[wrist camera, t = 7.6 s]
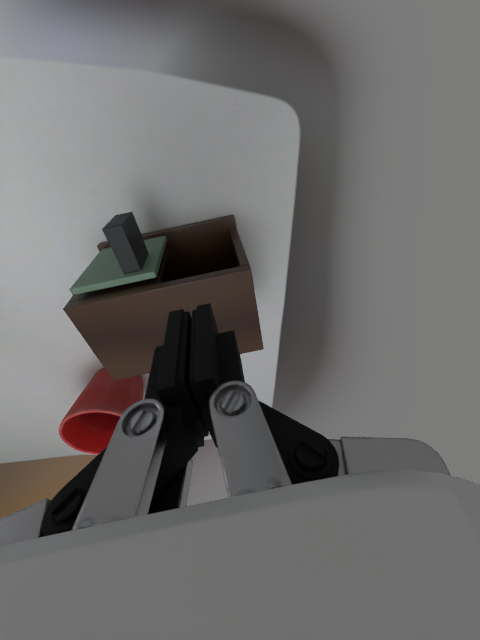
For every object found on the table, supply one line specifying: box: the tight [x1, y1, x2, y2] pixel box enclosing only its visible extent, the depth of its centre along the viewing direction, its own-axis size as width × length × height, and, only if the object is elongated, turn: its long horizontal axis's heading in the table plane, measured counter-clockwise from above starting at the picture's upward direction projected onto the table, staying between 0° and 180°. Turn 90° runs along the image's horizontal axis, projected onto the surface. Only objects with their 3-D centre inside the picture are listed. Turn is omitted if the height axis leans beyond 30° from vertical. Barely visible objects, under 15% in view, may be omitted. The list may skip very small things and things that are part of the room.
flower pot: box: [59, 368, 143, 455], centre depth 40 cm, size 11×11×10 cm
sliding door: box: [70, 212, 167, 295], centre depth 25 cm, size 5×7×9 cm, turn 100°
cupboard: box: [63, 215, 263, 380], centre depth 29 cm, size 11×16×12 cm, turn 100°
